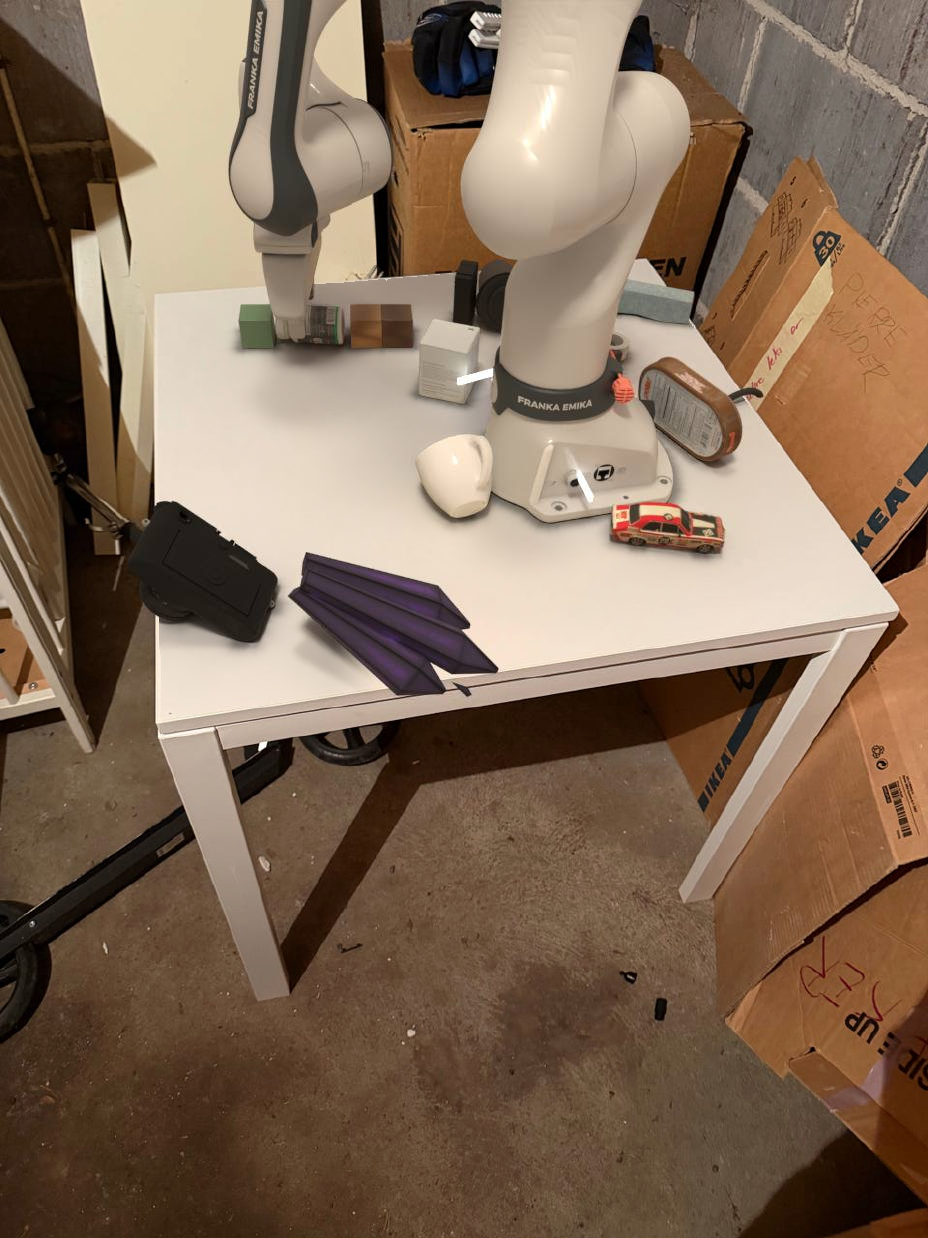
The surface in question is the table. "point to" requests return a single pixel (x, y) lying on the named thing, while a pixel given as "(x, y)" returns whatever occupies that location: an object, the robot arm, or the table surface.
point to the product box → (448, 360)
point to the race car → (666, 526)
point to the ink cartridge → (465, 292)
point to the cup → (457, 473)
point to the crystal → (390, 624)
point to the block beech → (366, 325)
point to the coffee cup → (492, 293)
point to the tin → (691, 409)
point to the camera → (200, 573)
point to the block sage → (256, 326)
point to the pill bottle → (317, 325)
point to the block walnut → (397, 326)
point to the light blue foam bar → (656, 302)
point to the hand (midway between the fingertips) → (303, 315)
